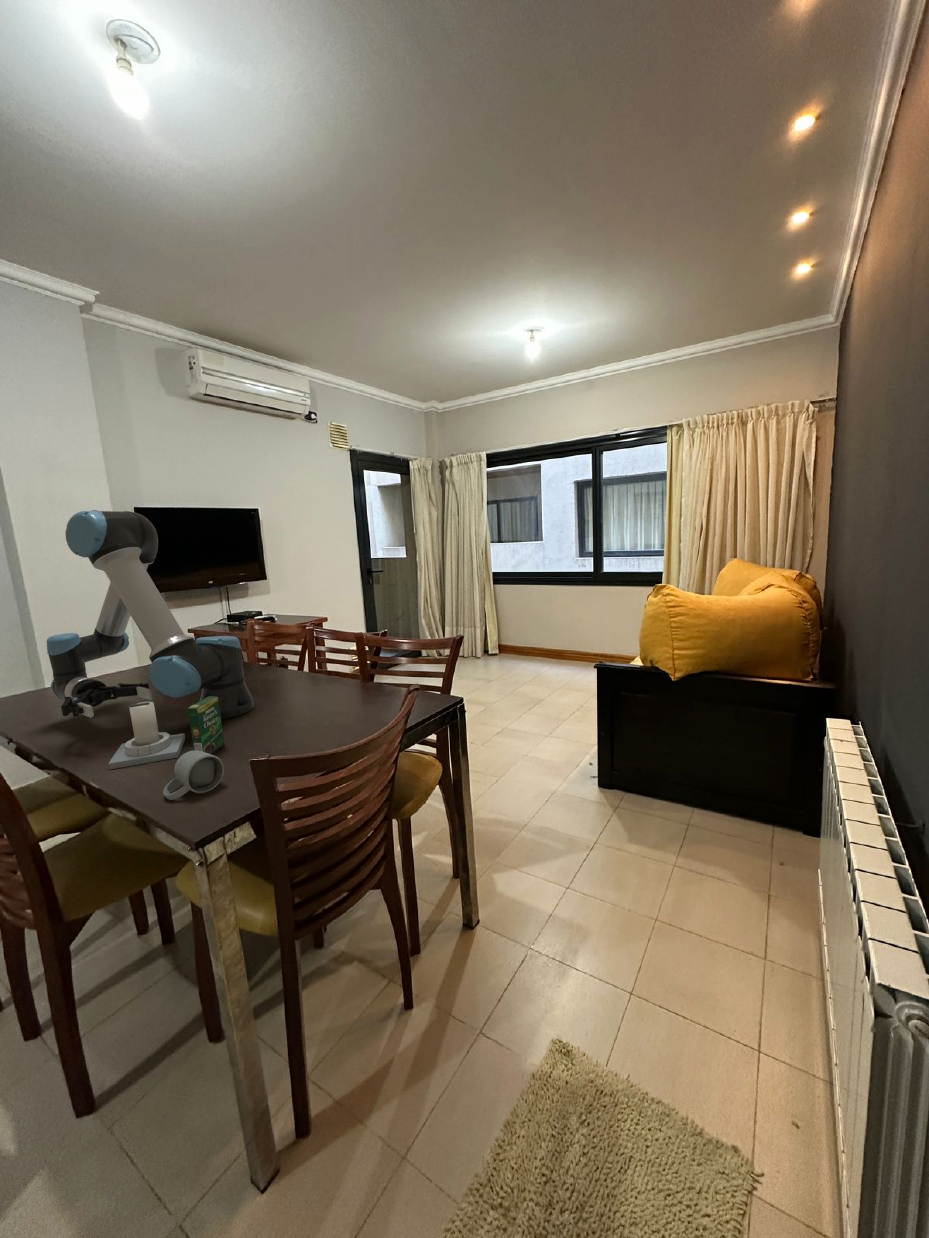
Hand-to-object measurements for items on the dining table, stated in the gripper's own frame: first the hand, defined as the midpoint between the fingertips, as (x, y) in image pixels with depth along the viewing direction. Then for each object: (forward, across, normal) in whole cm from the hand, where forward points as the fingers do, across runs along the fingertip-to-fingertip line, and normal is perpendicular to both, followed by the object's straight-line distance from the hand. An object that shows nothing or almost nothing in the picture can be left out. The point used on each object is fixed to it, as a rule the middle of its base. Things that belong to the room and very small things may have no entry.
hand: (122, 702), depth 126 cm
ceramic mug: (+38, +4, -12) cm, 41 cm away
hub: (+11, 0, -11) cm, 16 cm away
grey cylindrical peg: (+11, 0, -10) cm, 15 cm away
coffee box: (+24, -8, -12) cm, 28 cm away
